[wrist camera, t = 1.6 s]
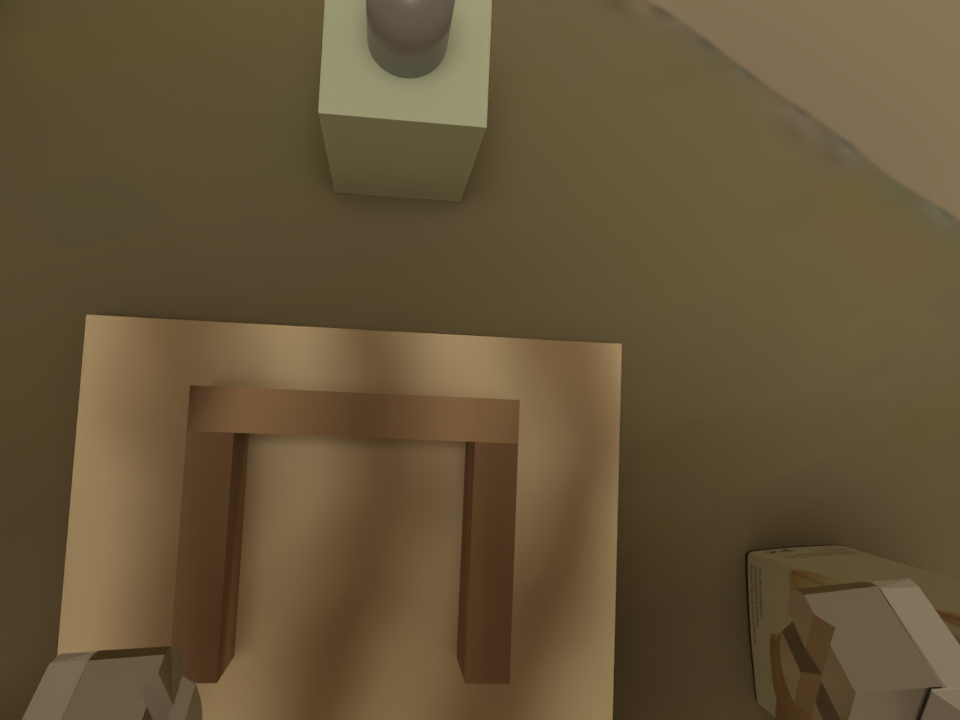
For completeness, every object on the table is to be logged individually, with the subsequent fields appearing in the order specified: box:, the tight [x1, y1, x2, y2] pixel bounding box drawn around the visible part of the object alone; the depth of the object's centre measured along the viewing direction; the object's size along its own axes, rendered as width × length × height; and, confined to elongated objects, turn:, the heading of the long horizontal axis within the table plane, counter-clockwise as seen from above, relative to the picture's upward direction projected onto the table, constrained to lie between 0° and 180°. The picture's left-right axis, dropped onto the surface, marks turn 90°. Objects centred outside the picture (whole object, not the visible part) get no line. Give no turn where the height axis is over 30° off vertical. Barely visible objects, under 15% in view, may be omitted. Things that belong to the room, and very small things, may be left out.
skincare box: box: [748, 545, 960, 720], centre depth 26 cm, size 6×4×12 cm
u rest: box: [57, 315, 622, 720], centre depth 28 cm, size 20×16×4 cm
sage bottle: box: [318, 0, 492, 202], centre depth 26 cm, size 5×5×11 cm
